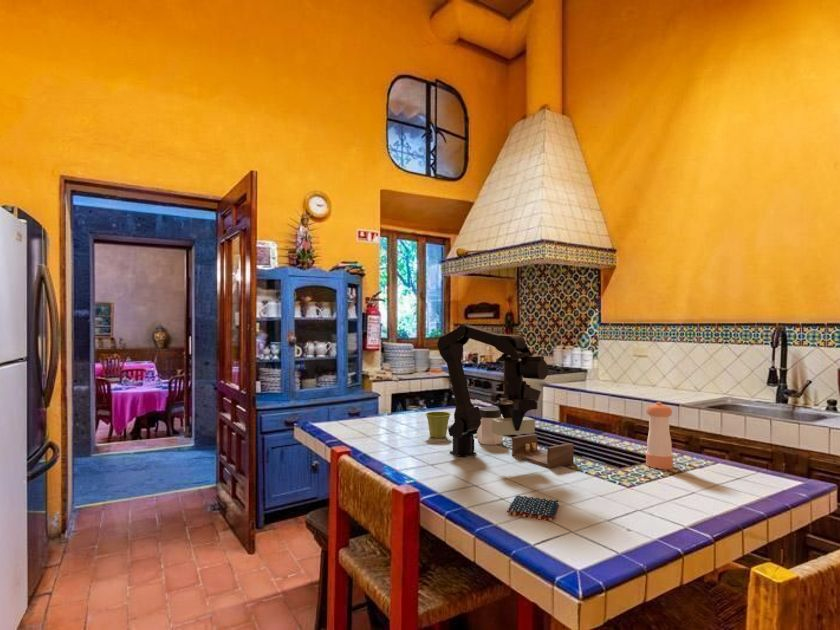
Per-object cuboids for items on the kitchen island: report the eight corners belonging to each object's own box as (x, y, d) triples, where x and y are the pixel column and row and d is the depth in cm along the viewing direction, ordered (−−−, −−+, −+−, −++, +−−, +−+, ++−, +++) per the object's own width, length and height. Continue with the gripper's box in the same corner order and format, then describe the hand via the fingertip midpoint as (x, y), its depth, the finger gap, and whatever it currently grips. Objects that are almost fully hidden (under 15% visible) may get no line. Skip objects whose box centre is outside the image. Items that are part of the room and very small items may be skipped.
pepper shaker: (676, 465, 151) (675, 401, 151) (668, 470, 146) (667, 404, 146) (650, 461, 156) (650, 399, 156) (642, 466, 151) (642, 402, 151)
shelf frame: (573, 463, 153) (573, 443, 153) (550, 468, 148) (550, 448, 148) (534, 451, 167) (534, 433, 167) (512, 455, 162) (512, 437, 162)
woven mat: (514, 501, 122) (514, 493, 122) (559, 508, 118) (559, 499, 118) (505, 517, 112) (505, 508, 112) (554, 524, 108) (554, 515, 108)
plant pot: (451, 439, 185) (451, 416, 185) (425, 439, 185) (425, 415, 185) (450, 434, 194) (450, 411, 194) (425, 433, 194) (425, 411, 194)
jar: (505, 444, 177) (505, 410, 177) (483, 445, 175) (483, 411, 176) (496, 438, 186) (496, 406, 186) (475, 439, 184) (475, 407, 184)
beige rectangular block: (498, 435, 147) (498, 421, 147) (491, 432, 151) (491, 419, 151) (534, 432, 151) (534, 419, 151) (527, 429, 155) (527, 416, 155)
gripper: (553, 379, 145) (553, 433, 144) (521, 373, 162) (521, 421, 162) (519, 380, 141) (519, 436, 141) (490, 374, 159) (490, 423, 159)
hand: (513, 429), depth 151 cm, fingers closed on beige rectangular block, 4 cm apart
